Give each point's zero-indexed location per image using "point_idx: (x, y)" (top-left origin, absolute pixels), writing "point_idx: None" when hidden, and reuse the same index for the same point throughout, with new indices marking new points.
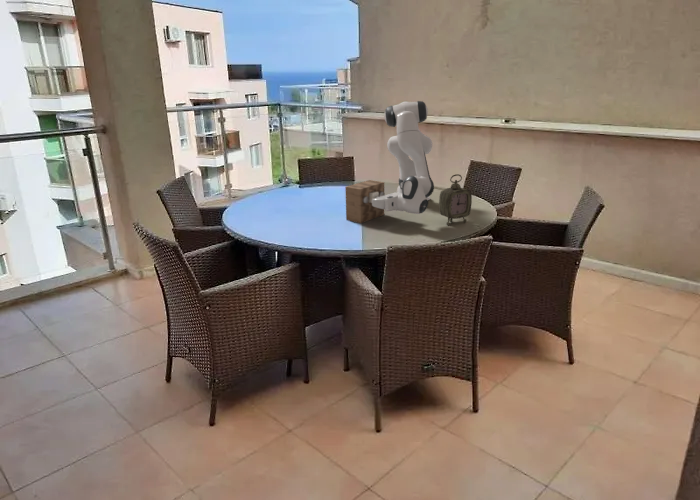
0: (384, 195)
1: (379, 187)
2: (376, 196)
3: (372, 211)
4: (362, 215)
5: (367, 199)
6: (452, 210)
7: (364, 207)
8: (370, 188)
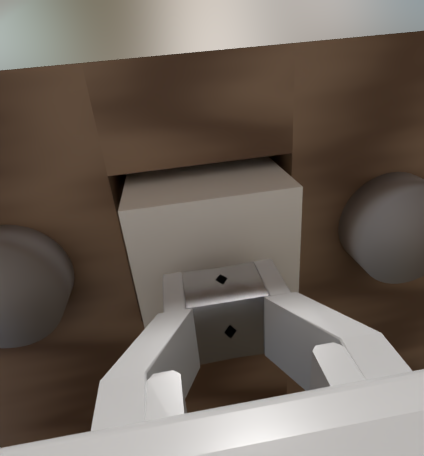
0: (290, 418)
1: (382, 108)
2: (174, 288)
3: (219, 396)
4: (34, 435)
5: (11, 297)
6: None
7: (46, 365)
8: (132, 104)
